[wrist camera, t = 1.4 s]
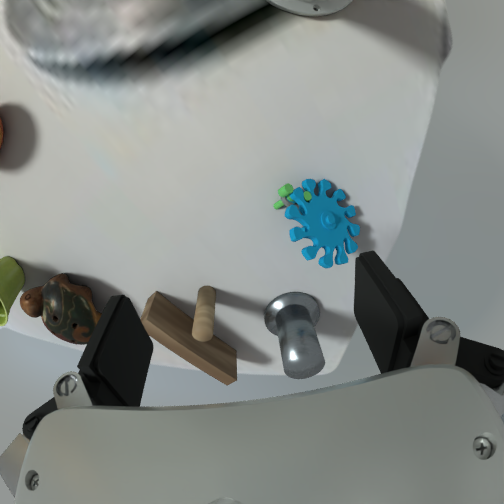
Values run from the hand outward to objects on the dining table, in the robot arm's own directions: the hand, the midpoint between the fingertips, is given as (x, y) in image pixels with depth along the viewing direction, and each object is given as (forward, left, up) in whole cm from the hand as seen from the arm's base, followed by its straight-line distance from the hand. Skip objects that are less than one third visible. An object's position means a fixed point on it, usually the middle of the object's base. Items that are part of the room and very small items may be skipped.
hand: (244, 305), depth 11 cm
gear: (-4, +9, -23) cm, 25 cm away
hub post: (+8, +20, -23) cm, 31 cm away
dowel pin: (+14, +9, -23) cm, 28 cm away
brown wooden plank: (+20, +12, -23) cm, 33 cm away
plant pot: (+37, -16, -23) cm, 46 cm away
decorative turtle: (+30, -4, -23) cm, 38 cm away
